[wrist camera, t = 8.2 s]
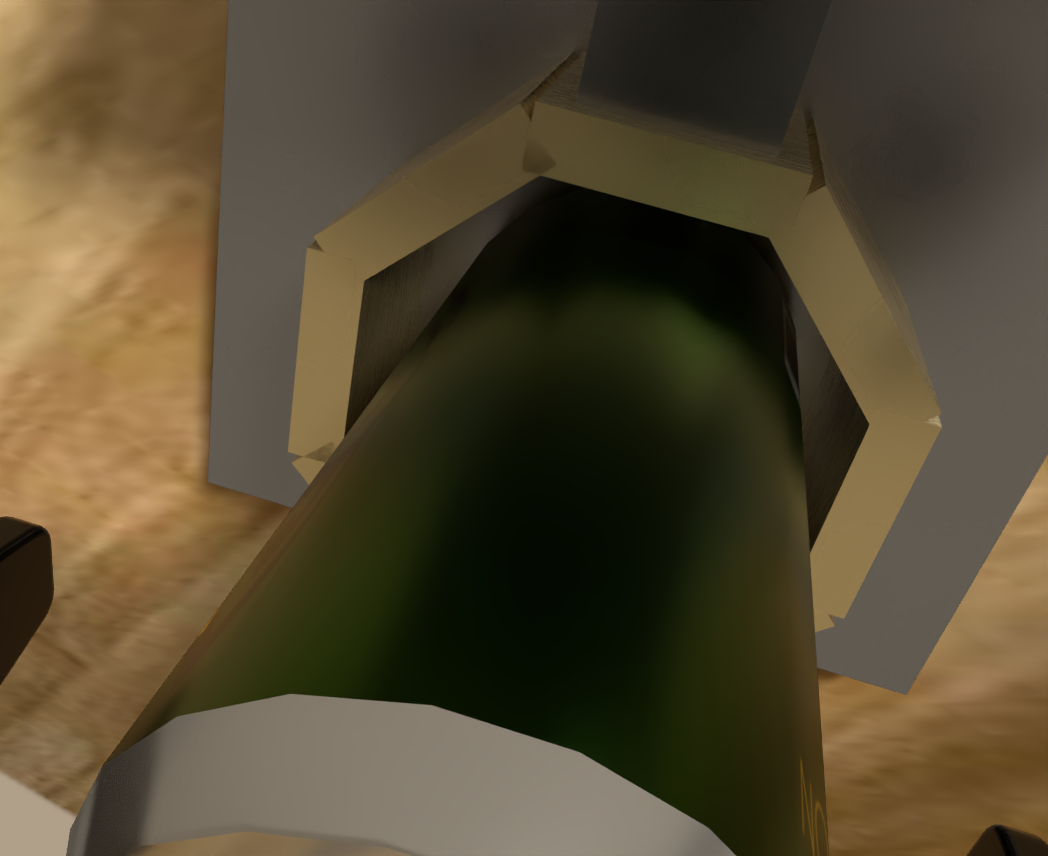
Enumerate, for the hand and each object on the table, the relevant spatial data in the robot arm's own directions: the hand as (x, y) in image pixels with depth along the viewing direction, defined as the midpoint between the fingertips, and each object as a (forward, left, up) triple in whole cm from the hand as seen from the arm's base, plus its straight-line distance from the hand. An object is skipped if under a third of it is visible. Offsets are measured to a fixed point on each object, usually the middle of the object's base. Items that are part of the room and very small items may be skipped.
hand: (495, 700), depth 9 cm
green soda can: (0, 0, -8) cm, 9 cm away
